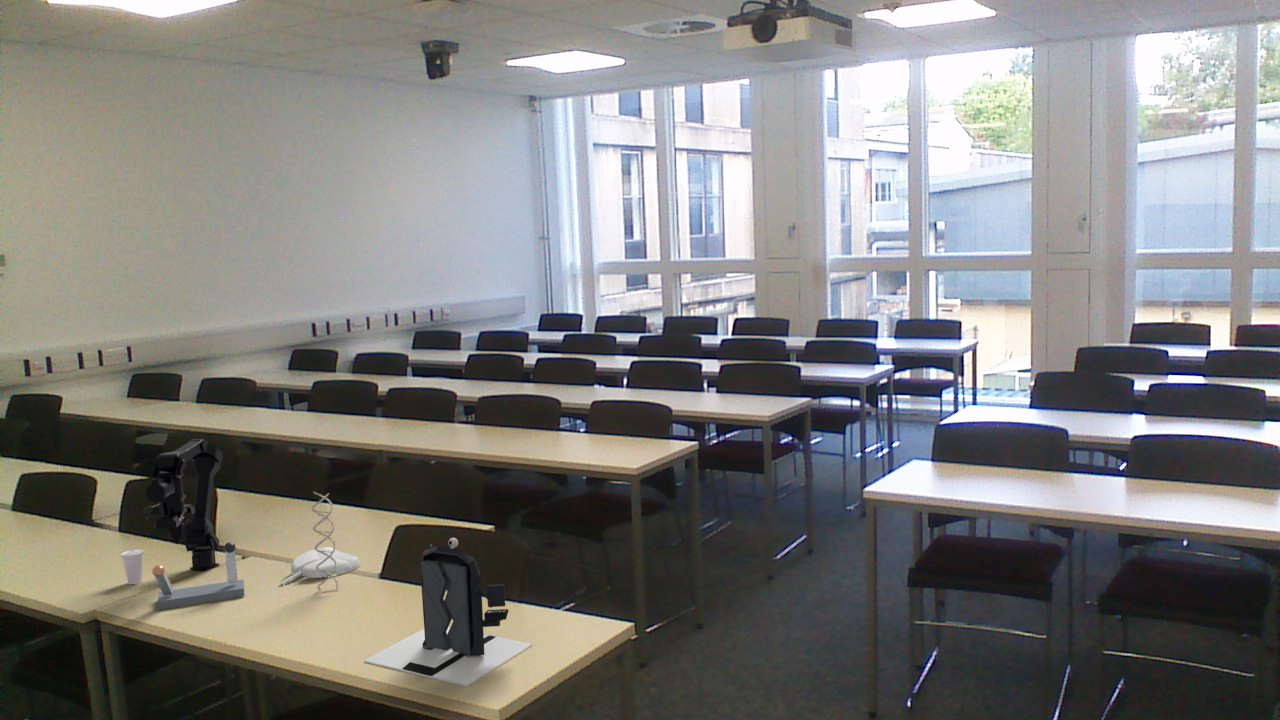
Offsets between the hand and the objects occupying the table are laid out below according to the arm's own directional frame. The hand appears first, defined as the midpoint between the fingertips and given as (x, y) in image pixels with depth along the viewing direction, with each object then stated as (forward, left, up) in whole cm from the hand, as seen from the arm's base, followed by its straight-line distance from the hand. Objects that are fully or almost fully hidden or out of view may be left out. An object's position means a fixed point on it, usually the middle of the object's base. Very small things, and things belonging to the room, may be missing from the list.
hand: (177, 543), depth 297 cm
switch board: (+7, +16, -13) cm, 22 cm away
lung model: (-21, +34, -14) cm, 42 cm away
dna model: (-9, +49, -13) cm, 52 cm away
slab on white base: (+19, +110, -13) cm, 112 cm away
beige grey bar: (+1, +23, -10) cm, 25 cm away
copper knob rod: (+14, +10, -10) cm, 20 cm away
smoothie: (+3, -16, -13) cm, 21 cm away
